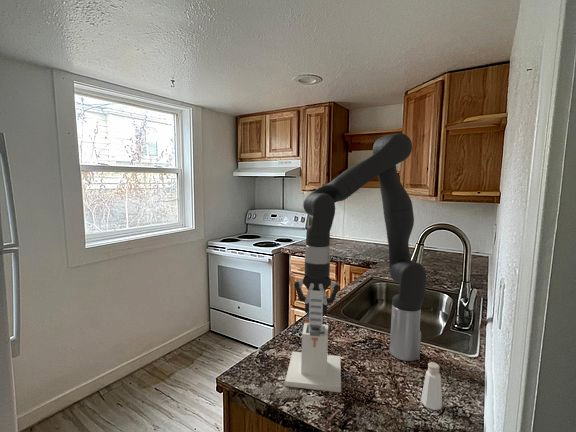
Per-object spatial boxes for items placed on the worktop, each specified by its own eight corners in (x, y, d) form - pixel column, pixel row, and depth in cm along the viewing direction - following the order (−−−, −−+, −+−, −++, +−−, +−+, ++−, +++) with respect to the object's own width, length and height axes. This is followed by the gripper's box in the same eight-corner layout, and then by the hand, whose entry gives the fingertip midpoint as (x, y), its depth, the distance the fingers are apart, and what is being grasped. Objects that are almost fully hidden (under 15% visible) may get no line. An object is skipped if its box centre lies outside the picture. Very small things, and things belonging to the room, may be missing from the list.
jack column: (321, 354, 95) (323, 286, 93) (320, 362, 91) (323, 291, 89) (308, 353, 96) (310, 285, 94) (307, 361, 92) (309, 290, 89)
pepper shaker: (435, 413, 78) (438, 373, 77) (416, 401, 82) (418, 363, 81) (446, 405, 81) (449, 366, 80) (427, 393, 85) (429, 356, 84)
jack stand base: (340, 360, 101) (341, 316, 99) (341, 392, 85) (342, 341, 84) (292, 355, 103) (293, 312, 102) (284, 386, 88) (285, 335, 86)
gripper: (341, 258, 93) (339, 311, 95) (295, 255, 95) (294, 308, 97) (341, 264, 86) (339, 322, 88) (292, 261, 88) (291, 318, 90)
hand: (315, 314), depth 92 cm, fingers closed on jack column, 4 cm apart
